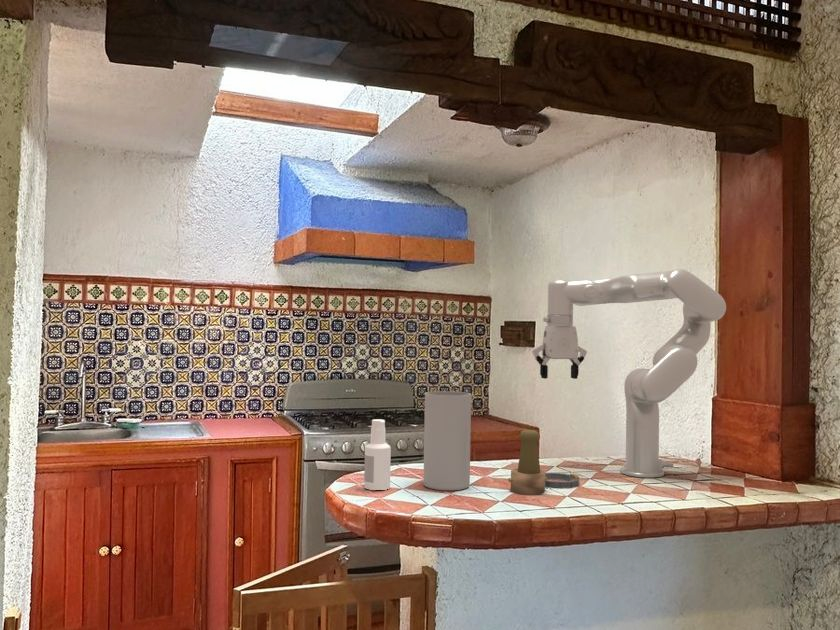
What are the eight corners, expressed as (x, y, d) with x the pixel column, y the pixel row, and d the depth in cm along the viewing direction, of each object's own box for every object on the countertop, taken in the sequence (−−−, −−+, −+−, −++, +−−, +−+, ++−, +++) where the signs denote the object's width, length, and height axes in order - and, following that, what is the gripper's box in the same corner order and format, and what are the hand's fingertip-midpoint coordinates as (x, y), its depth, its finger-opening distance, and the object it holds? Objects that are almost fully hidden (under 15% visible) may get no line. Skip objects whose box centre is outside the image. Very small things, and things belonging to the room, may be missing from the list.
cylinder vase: (458, 479, 194) (460, 391, 195) (477, 489, 182) (478, 395, 183) (416, 482, 190) (418, 391, 190) (433, 492, 178) (434, 396, 178)
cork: (541, 474, 179) (542, 432, 180) (518, 473, 180) (518, 431, 180) (539, 469, 185) (540, 428, 186) (516, 469, 186) (517, 428, 186)
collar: (566, 477, 200) (567, 470, 200) (586, 487, 188) (586, 479, 188) (526, 479, 197) (526, 471, 197) (544, 488, 185) (544, 480, 185)
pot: (539, 486, 188) (539, 467, 188) (553, 494, 179) (553, 474, 179) (502, 487, 185) (503, 468, 186) (515, 495, 177) (515, 475, 177)
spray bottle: (373, 484, 186) (375, 417, 187) (394, 487, 183) (396, 419, 183) (358, 489, 180) (360, 420, 181) (380, 492, 177) (381, 422, 177)
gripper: (538, 320, 202) (537, 379, 201) (592, 322, 206) (591, 379, 205) (528, 321, 209) (527, 377, 209) (580, 322, 213) (580, 377, 213)
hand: (559, 378), depth 207 cm, fingers open, 9 cm apart
